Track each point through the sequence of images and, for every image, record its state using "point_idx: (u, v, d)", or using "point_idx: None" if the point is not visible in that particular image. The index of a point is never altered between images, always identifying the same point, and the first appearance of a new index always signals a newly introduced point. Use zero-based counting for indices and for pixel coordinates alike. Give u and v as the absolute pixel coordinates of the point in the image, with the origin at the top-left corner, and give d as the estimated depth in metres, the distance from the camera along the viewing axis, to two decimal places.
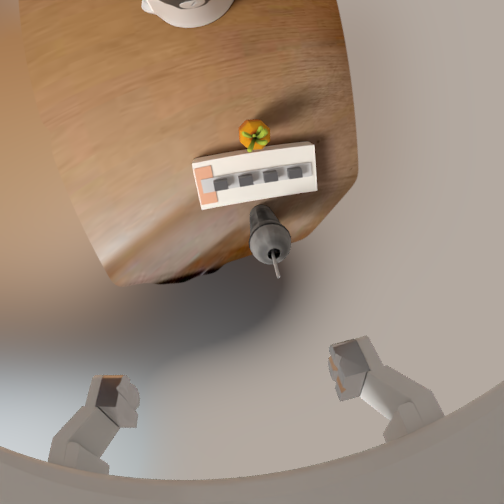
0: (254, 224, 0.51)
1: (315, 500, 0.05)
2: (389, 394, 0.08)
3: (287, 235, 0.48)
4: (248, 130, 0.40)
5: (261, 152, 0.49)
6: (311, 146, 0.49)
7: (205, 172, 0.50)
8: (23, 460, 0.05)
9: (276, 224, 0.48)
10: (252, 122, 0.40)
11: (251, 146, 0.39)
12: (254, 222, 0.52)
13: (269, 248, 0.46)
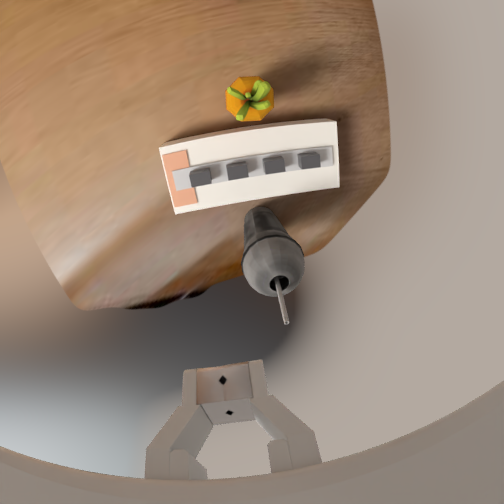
0: (250, 236, 0.35)
1: (315, 500, 0.05)
2: (270, 425, 0.08)
3: (299, 254, 0.31)
4: (239, 89, 0.24)
5: (260, 130, 0.33)
6: (332, 123, 0.33)
7: (178, 160, 0.33)
8: (23, 460, 0.05)
9: (283, 237, 0.31)
10: (245, 78, 0.23)
11: (243, 111, 0.22)
12: (250, 232, 0.36)
13: (272, 275, 0.29)
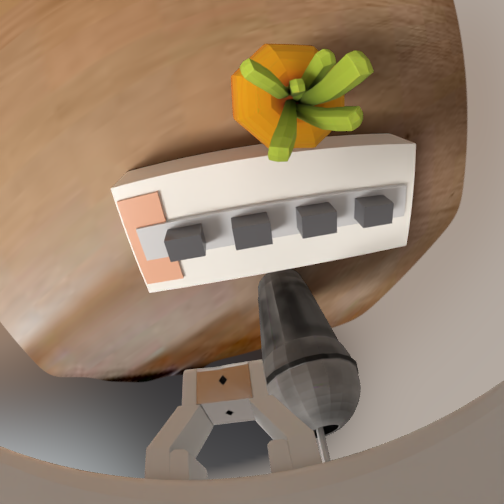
0: (272, 339, 0.20)
1: (315, 500, 0.05)
2: (270, 425, 0.08)
3: (357, 381, 0.17)
4: (269, 71, 0.09)
5: (294, 155, 0.18)
6: (410, 146, 0.18)
7: (145, 210, 0.18)
8: (23, 460, 0.05)
9: (332, 357, 0.17)
10: (282, 46, 0.09)
11: (288, 133, 0.08)
12: (272, 331, 0.21)
13: (314, 426, 0.15)
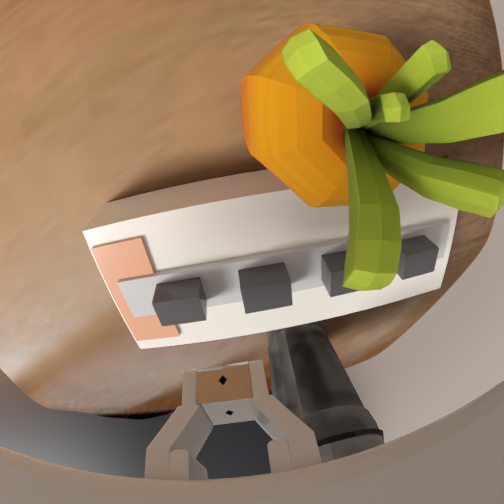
0: (287, 407, 0.16)
1: (315, 500, 0.05)
2: (270, 425, 0.08)
3: None
4: None
5: None
6: None
7: (127, 259, 0.14)
8: (23, 460, 0.05)
9: (359, 435, 0.12)
10: (337, 28, 0.05)
11: (389, 226, 0.03)
12: (287, 397, 0.17)
13: None
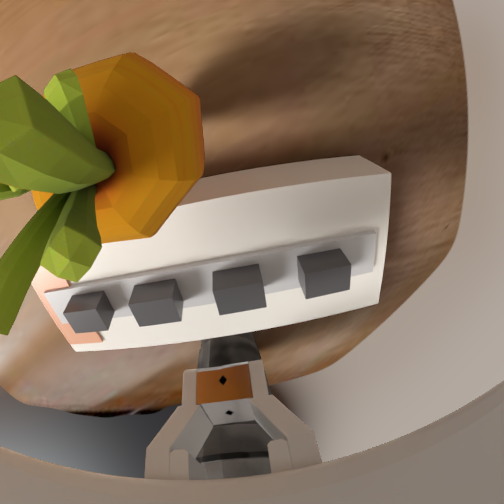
0: None
1: (315, 500, 0.05)
2: (270, 425, 0.08)
3: None
4: None
5: (203, 204, 0.13)
6: (382, 178, 0.14)
7: (48, 273, 0.14)
8: (23, 460, 0.05)
9: (255, 456, 0.12)
10: None
11: None
12: None
13: None
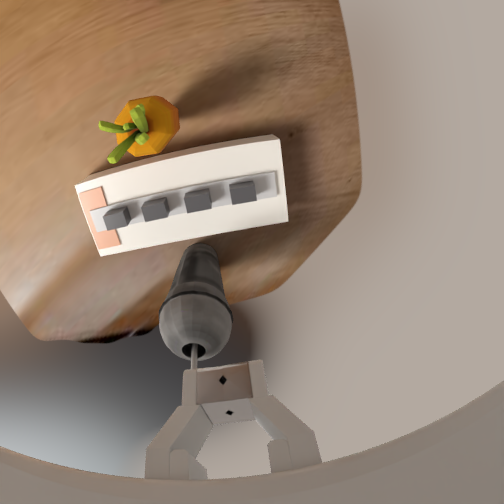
0: (172, 286, 0.29)
1: (315, 500, 0.05)
2: (270, 425, 0.08)
3: (220, 315, 0.25)
4: (125, 117, 0.18)
5: (181, 158, 0.27)
6: (274, 142, 0.27)
7: (94, 198, 0.27)
8: (23, 460, 0.05)
9: (201, 294, 0.25)
10: (134, 101, 0.18)
11: (117, 150, 0.16)
12: (174, 281, 0.30)
13: (183, 342, 0.23)
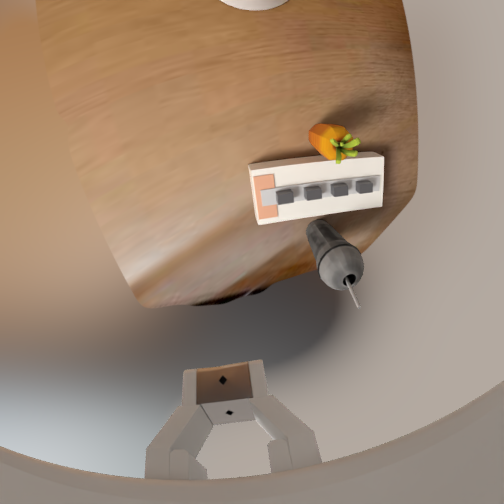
0: (321, 244, 0.44)
1: (315, 500, 0.05)
2: (270, 425, 0.08)
3: (361, 258, 0.41)
4: (332, 136, 0.33)
5: (330, 161, 0.42)
6: (381, 158, 0.42)
7: (266, 181, 0.43)
8: (23, 460, 0.05)
9: (350, 246, 0.41)
10: (335, 128, 0.33)
11: (340, 157, 0.32)
12: (320, 241, 0.45)
13: (345, 274, 0.39)
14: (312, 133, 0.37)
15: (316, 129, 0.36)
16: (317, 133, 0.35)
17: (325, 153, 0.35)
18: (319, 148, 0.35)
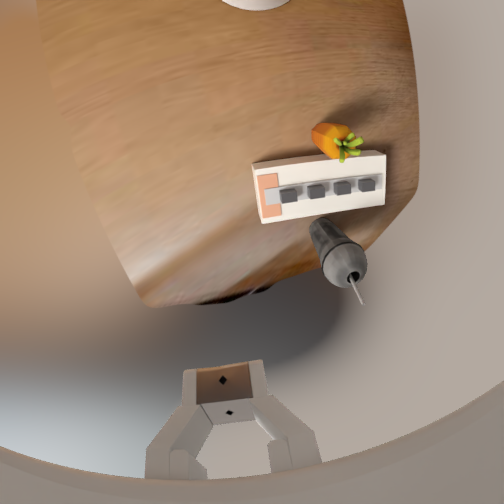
0: (324, 242, 0.44)
1: (315, 500, 0.05)
2: (270, 425, 0.08)
3: (365, 255, 0.41)
4: (335, 136, 0.33)
5: (333, 160, 0.42)
6: (383, 156, 0.42)
7: (270, 180, 0.43)
8: (23, 460, 0.05)
9: (353, 243, 0.41)
10: (338, 127, 0.33)
11: (343, 156, 0.32)
12: (323, 239, 0.45)
13: (349, 271, 0.39)
14: (315, 132, 0.37)
15: (319, 128, 0.37)
16: (320, 132, 0.35)
17: (328, 152, 0.35)
18: (322, 147, 0.35)
